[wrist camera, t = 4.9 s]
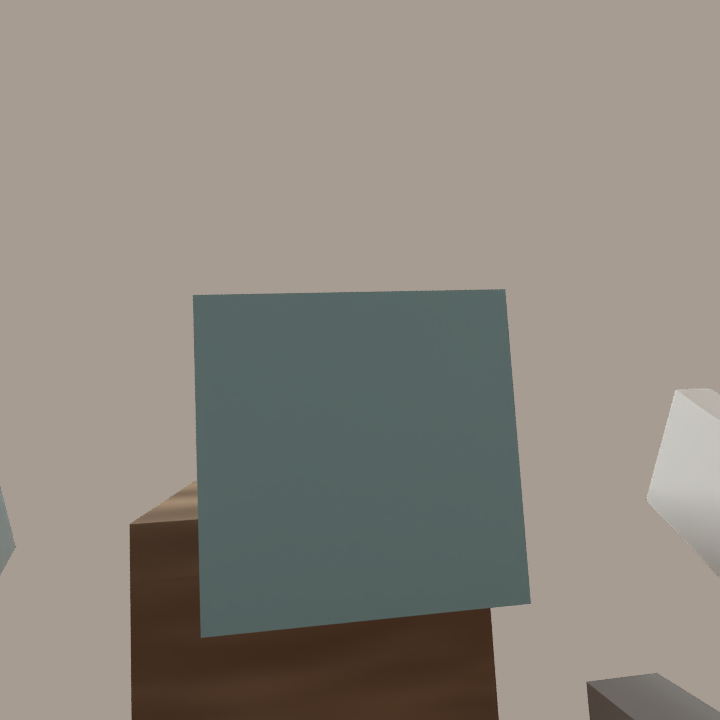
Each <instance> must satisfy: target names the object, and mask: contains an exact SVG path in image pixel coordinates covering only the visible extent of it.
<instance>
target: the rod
mask: <svg viewBox="0 0 720 720" xmlns="http://www.w3.org/2000/svg"><path fill="white" fill-rule="evenodd" d="M193 313H194V358H195V401H196V445H197V491H198V535H199V580H200V625H201V638H204V637H214V636H223V635H233V634H243V633H252V632H262V631H272V630H281V629H291V628H301V627H310V626H320V625H329V624H339V623H349V622H358V621H368V620H378V619H387V618H397V617H407V616H416V615H426V614H435V613H445V612H455V611H464V610H474V609H484V608H493V607H503V606H512V605H522V604H530V603H531V601H530V589H529V576H528V564H527V552H526V541H525V527H524V515H523V503H522V490H521V478H520V467H519V454H518V443H517V442H518V441H517V430H516V417H515V405H514V392H513V380H512V368H511V356H510V344H509V331H508V320H507V306H506V294H505V289H504V290H503V289H502V290H501V289H500V290H450V291H449V290H446V291H396V292H395V291H394V292H393V291H392V292H339V293H286V294H232V295H193Z"/></svg>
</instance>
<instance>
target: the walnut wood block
mask: <svg viewBox="0 0 720 720" xmlns="http://www.w3.org/2000/svg"><path fill="white" fill-rule="evenodd" d="M130 599H131V690H132V691H131V696H132V697H131V701H132V720H499V718H498V705H497V692H496V678H495V665H494V651H493V638H492V624H491V611H490V608H484V609H474V610H464V611H455V612H445V613H435V614H426V615H416V616H407V617H397V618H387V619H378V620H368V621H358V622H349V623H339V624H329V625H320V626H310V627H301V628H291V629H281V630H272V631H262V632H252V633H243V634H233V635H223V636H214V637H204V638H201V625H200V580H199V535H198V491H197V481H195V482H193V483H191V484H190V485H188V486H187V487H185V488H184V489H182V490H181V491H179V492H178V493H176V494H175V495H173V496H172V497H170V498H169V499H167V500H166V501H165V502H163V503H161V504H160V505H158V506H157V507H155V508H154V509H152V510H151V511H149V512H148V513H146V514H144V515H143V516H141V517H140V518H138V519H137V520H135V521H134V522H132V523H131V524H130Z"/></svg>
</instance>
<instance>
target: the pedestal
mask: <svg viewBox="0 0 720 720" xmlns="http://www.w3.org/2000/svg"><path fill="white" fill-rule="evenodd" d="M587 693H588V704H589V713H590V720H720V712H718V711H717V710H715V709H714V708H712V707H711V706H709V705H707V704H706V703H704V702H703V701H701V700H699V699H698V698H696V697H695V696H693V695H691V694H690V693H688V692H687V691H685V690H683V689H682V688H680V687H679V686H677V685H675V684H674V683H672V682H671V681H669V680H667V679H666V678H664V677H662V676H661V675H659V674H658V673H653V674H645V675H637V676H629V677H621V678H614V679H605V680H597V681H589V682H587Z"/></svg>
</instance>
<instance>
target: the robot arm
mask: <svg viewBox="0 0 720 720" xmlns="http://www.w3.org/2000/svg"><path fill="white" fill-rule="evenodd" d="M646 501H647V502H648V503H649V504H650V505H651V506H652V507H653V508H654V509H655V510H656V511H657V512H658V513H659V514H660V515H661V516H662V518H663V519H664V520H665V521H666V522H667V523H668V524H669V525H670V526H671V527H672V528H673V529H674V530H675V531H676V532H677V533H678V534H679V535H680V537H681V538H682V539H683V540H684V541H685V542H686V543H687V544H688V545H689V546H690V547H691V548H692V549H693V550H694V551H695V552H696V553H697V554H698V556H699V557H700V558H701V559H702V560H703V561H704V562H705V563H706V564H707V565H708V566H709V567H710V568H711V569H712V570H713V571H714V572H715V573H716V575H717V576H718V577H719V578H720V395H719V394H717V393H716V392H715V391H713V390H712V389H710V388H703V389H702V388H701V389H679V390H675V394H674V398H673V401H672V406H671V409H670V413H669V416H668V420H667V424H666V427H665V431H664V435H663V439H662V442H661V446H660V450H659V454H658V458H657V461H656V465H655V469H654V472H653V476H652V480H651V484H650V487H649V491H648V495H647V498H646ZM15 547H16V546H15V542H14V539H13V534H12V531H11V527H10V523H9V519H8V515H7V511H6V507H5V503H4V499H3V496H2V492H1V488H0V575H1V573H2V571H3V569H4V567H5V565H6V564H7V562H8V560H9V558H10V556H11V554H12V553H13V551H14V549H15Z"/></svg>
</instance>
